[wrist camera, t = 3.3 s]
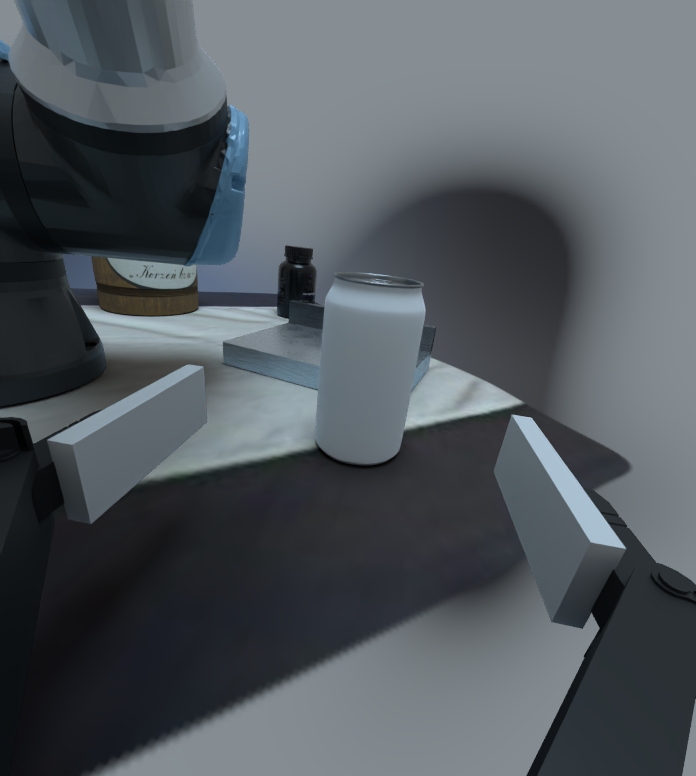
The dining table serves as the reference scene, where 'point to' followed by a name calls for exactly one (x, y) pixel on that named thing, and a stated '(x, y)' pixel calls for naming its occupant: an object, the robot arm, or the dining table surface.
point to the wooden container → (145, 287)
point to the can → (367, 365)
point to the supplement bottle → (296, 278)
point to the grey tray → (300, 348)
